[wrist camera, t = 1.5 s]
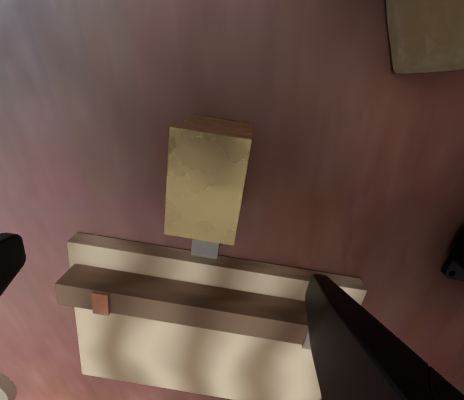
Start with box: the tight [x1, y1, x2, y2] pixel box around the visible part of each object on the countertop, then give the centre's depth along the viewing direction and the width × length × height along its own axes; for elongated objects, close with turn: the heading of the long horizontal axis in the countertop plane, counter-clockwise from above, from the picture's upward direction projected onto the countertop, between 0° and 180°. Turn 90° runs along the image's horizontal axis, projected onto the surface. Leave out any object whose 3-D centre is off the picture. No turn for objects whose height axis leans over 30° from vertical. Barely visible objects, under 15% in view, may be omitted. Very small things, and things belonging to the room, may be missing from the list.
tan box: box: [164, 114, 252, 259], centre depth 18 cm, size 4×10×6 cm, turn 172°
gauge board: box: [55, 232, 367, 400], centre depth 24 cm, size 24×16×4 cm, turn 82°
